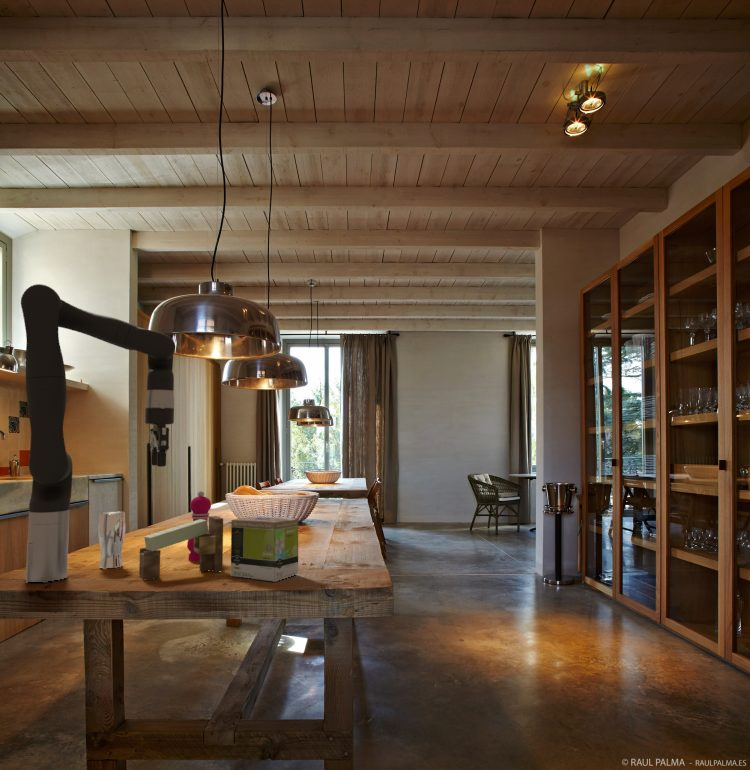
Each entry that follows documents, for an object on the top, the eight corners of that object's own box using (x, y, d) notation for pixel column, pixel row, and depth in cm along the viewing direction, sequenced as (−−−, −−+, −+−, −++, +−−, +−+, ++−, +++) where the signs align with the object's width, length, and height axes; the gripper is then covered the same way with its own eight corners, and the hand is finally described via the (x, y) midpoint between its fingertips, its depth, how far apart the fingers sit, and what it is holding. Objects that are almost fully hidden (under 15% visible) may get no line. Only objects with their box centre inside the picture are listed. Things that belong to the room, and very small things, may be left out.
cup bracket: (199, 574, 161) (200, 520, 162) (193, 569, 167) (194, 517, 168) (222, 571, 164) (223, 518, 165) (215, 567, 170) (216, 515, 171)
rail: (152, 551, 155) (150, 538, 155) (146, 549, 158) (144, 536, 158) (208, 532, 166) (206, 520, 166) (202, 531, 169) (200, 519, 169)
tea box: (299, 575, 159) (299, 517, 160) (274, 583, 150) (274, 522, 152) (255, 569, 167) (256, 514, 168) (229, 576, 158) (230, 518, 159)
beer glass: (125, 563, 175) (126, 510, 176) (123, 568, 169) (125, 513, 170) (98, 565, 173) (100, 511, 174) (95, 570, 166) (97, 514, 168)
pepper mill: (215, 557, 184) (216, 490, 186) (206, 562, 177) (208, 492, 179) (192, 557, 185) (193, 490, 187) (182, 561, 178) (184, 492, 179)
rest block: (143, 580, 154) (144, 552, 155) (138, 575, 160) (139, 548, 160) (159, 578, 156) (160, 550, 157) (155, 573, 162) (155, 546, 162)
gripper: (141, 408, 174) (139, 465, 173) (150, 405, 162) (148, 467, 161) (168, 408, 178) (167, 464, 177) (179, 406, 166) (178, 466, 164)
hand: (158, 465), depth 169 cm, fingers open, 8 cm apart
